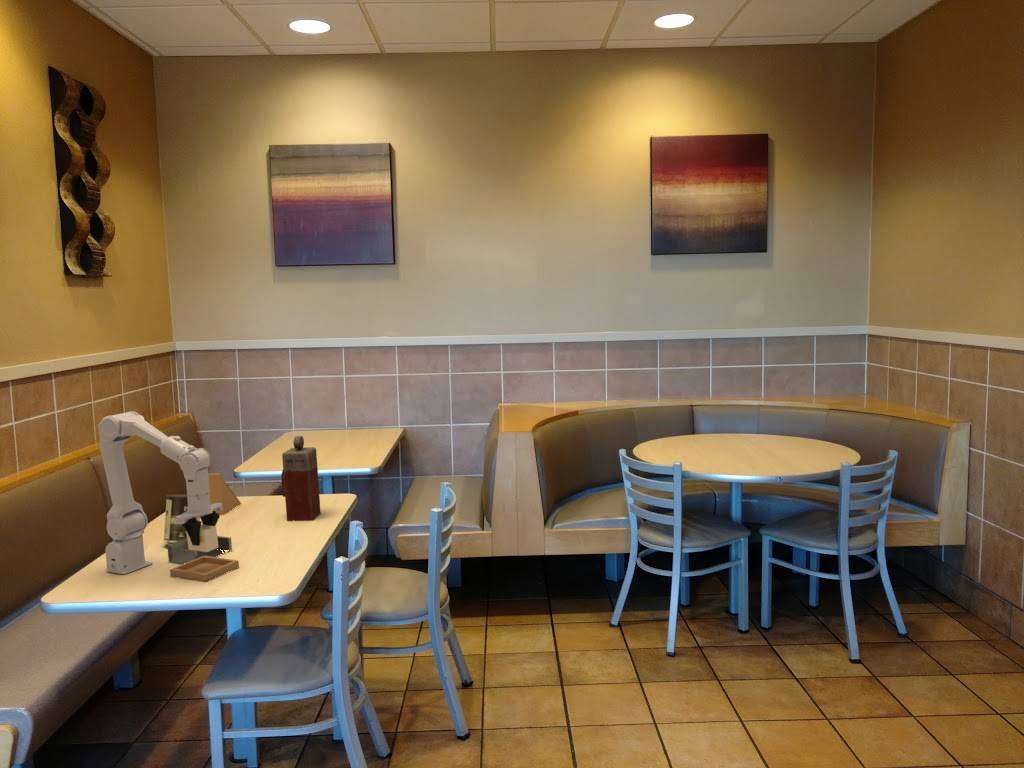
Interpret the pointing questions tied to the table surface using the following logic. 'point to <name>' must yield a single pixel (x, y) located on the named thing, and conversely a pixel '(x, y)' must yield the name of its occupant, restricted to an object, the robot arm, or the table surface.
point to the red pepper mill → (300, 482)
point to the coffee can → (175, 507)
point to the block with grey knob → (205, 539)
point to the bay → (183, 554)
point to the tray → (204, 568)
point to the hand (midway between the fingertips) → (202, 542)
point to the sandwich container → (221, 493)
